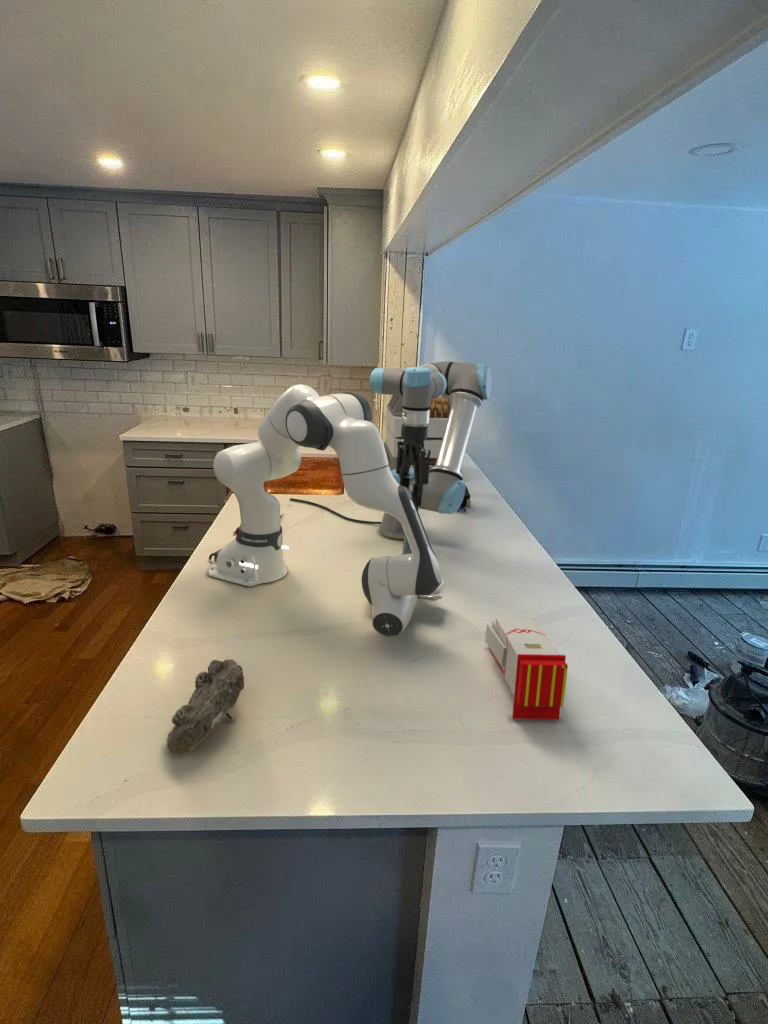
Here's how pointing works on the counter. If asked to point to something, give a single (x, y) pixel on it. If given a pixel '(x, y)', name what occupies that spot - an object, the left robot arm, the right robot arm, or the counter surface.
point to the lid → (409, 489)
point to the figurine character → (465, 500)
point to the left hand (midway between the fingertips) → (410, 571)
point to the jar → (406, 547)
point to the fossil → (206, 705)
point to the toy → (529, 667)
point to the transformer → (435, 426)
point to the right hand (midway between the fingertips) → (410, 502)
